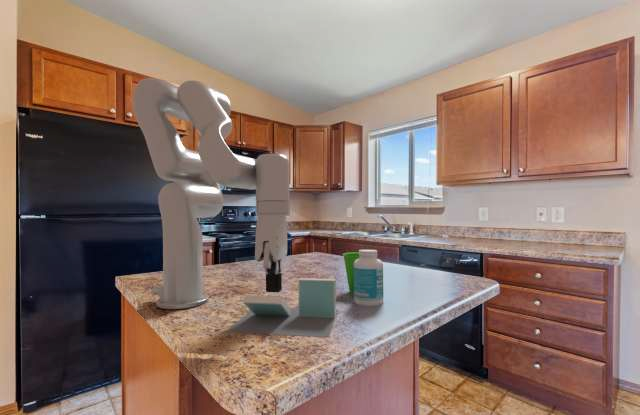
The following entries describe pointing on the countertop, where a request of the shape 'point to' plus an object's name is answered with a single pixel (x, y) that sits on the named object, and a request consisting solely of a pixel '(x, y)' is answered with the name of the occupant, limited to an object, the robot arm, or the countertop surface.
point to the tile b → (317, 297)
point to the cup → (350, 268)
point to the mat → (284, 325)
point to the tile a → (267, 305)
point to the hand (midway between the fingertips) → (273, 291)
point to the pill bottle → (368, 279)
